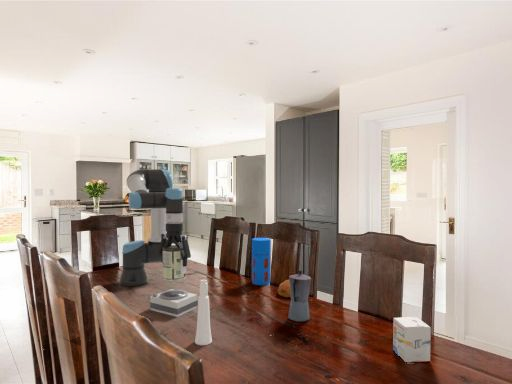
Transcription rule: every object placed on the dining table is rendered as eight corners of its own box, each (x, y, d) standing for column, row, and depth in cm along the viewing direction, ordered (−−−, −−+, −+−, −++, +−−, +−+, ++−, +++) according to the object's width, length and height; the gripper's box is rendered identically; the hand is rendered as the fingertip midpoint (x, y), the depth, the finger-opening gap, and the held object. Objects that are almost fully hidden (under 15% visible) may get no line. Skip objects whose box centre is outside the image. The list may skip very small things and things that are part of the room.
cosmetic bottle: (202, 336, 127) (202, 277, 126) (215, 340, 124) (215, 279, 123) (191, 343, 121) (191, 280, 121) (204, 347, 118) (205, 283, 118)
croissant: (289, 292, 187) (288, 277, 188) (312, 294, 176) (311, 278, 177) (271, 297, 177) (269, 281, 178) (294, 300, 166) (292, 283, 167)
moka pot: (313, 313, 150) (314, 268, 149) (306, 327, 135) (307, 276, 135) (292, 311, 153) (292, 266, 152) (283, 324, 138) (283, 274, 138)
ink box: (392, 351, 116) (392, 316, 116) (416, 350, 117) (416, 315, 117) (405, 364, 108) (405, 327, 108) (431, 363, 108) (431, 326, 108)
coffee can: (172, 274, 161) (172, 244, 161) (190, 276, 157) (190, 246, 157) (157, 279, 152) (157, 247, 152) (176, 282, 148) (176, 249, 148)
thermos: (271, 280, 203) (271, 237, 202) (270, 285, 192) (270, 240, 191) (252, 279, 204) (252, 237, 203) (250, 284, 193) (250, 240, 192)
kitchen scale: (150, 309, 153) (150, 294, 153) (171, 301, 165) (171, 287, 165) (177, 317, 145) (177, 300, 145) (197, 307, 157) (197, 292, 156)
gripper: (149, 222, 157) (149, 270, 157) (187, 224, 145) (187, 277, 146) (162, 220, 163) (162, 267, 163) (199, 223, 152) (199, 273, 152)
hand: (174, 272), depth 155 cm, fingers closed on coffee can, 10 cm apart
